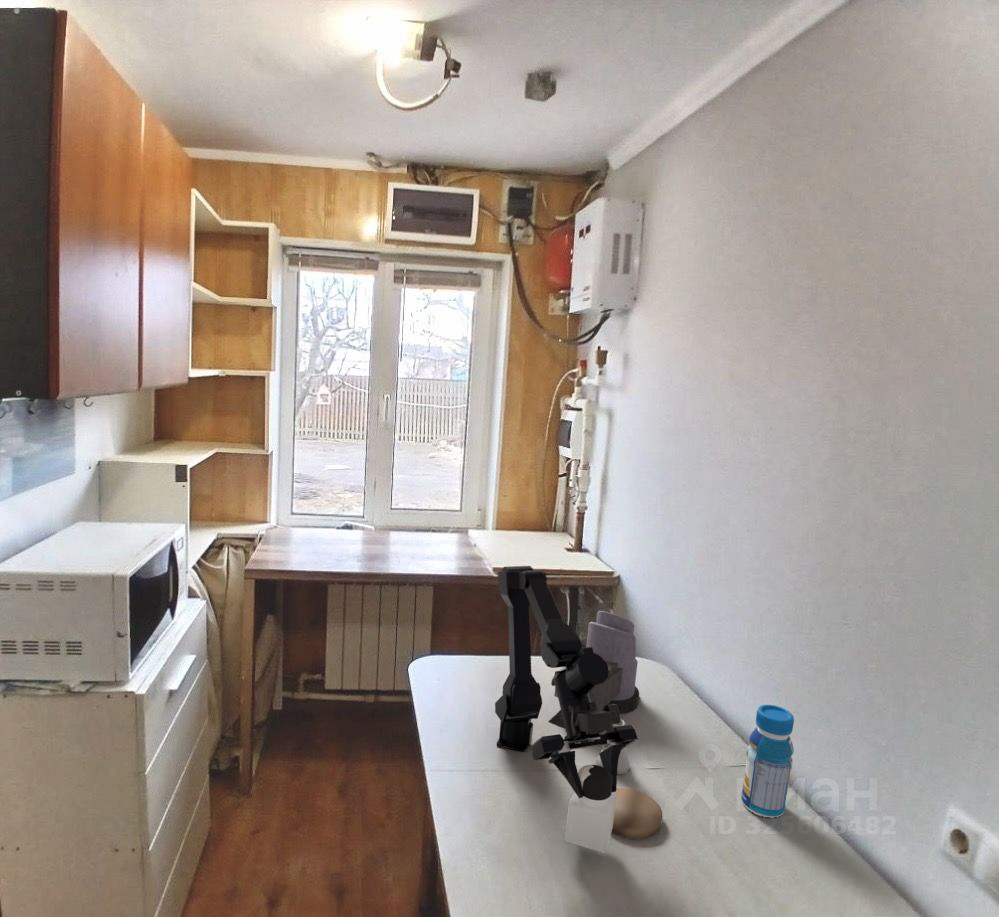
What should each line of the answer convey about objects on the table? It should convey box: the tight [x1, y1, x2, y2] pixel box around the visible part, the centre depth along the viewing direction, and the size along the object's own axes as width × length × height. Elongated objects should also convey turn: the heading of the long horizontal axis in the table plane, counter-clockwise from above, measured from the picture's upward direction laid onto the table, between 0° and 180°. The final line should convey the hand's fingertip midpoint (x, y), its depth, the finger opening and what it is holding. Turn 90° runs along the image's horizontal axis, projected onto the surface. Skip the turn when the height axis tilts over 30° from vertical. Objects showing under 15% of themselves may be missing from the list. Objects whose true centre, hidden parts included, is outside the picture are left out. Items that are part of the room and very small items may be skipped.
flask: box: [595, 719, 631, 775], centre depth 144 cm, size 7×7×10 cm
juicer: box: [547, 610, 642, 730], centre depth 168 cm, size 30×16×24 cm, turn 147°
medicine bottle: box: [564, 764, 616, 854], centre depth 118 cm, size 7×7×12 cm
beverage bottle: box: [740, 704, 795, 819], centre depth 134 cm, size 8×8×20 cm
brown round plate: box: [611, 787, 663, 840], centre depth 128 cm, size 12×12×2 cm
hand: (597, 794), depth 116 cm, fingers closed on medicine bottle, 6 cm apart
